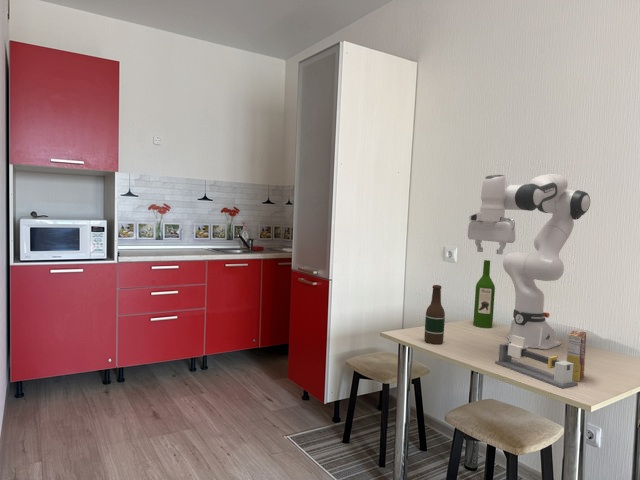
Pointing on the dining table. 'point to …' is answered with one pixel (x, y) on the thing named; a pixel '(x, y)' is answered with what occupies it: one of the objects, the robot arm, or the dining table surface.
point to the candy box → (577, 353)
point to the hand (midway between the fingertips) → (489, 253)
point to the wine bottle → (484, 299)
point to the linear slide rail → (559, 378)
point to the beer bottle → (435, 318)
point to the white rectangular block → (517, 347)
